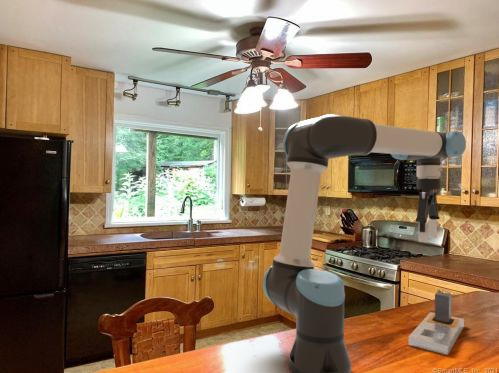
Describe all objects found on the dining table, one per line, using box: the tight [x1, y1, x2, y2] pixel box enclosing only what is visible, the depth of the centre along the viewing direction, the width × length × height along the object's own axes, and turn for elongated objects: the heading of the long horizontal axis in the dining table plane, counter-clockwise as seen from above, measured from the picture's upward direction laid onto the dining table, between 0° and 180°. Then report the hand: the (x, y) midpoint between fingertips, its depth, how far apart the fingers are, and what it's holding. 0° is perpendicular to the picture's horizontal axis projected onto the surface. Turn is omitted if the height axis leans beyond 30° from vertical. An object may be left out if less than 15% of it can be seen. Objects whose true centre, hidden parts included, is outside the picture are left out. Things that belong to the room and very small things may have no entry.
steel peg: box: [434, 291, 452, 325], centre depth 119 cm, size 4×4×11 cm
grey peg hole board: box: [408, 311, 465, 356], centre depth 114 cm, size 10×26×3 cm, turn 142°
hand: (427, 239), depth 130 cm, fingers open, 13 cm apart
